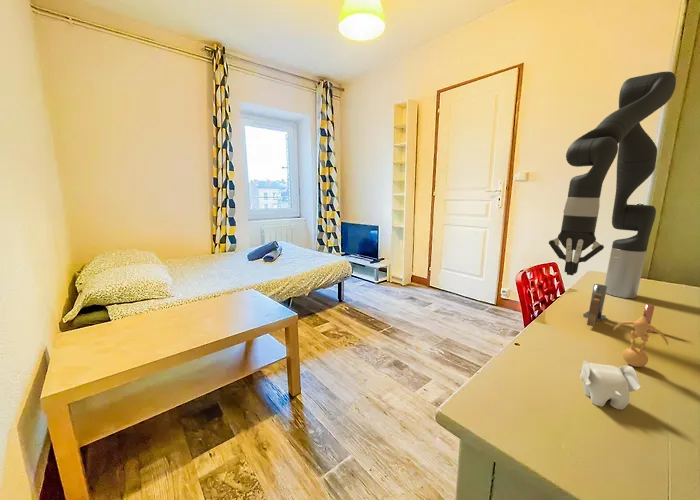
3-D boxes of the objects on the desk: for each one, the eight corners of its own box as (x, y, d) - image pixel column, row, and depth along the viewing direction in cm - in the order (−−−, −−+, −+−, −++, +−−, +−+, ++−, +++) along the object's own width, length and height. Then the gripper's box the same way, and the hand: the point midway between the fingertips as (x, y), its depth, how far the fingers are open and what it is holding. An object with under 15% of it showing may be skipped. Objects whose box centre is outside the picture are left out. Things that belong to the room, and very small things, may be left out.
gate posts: (589, 311, 93) (595, 281, 91) (655, 329, 81) (663, 295, 79) (583, 316, 89) (588, 284, 87) (650, 335, 78) (658, 299, 76)
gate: (590, 315, 87) (594, 293, 86) (597, 316, 86) (601, 294, 85) (586, 324, 81) (591, 301, 80) (594, 326, 80) (598, 302, 79)
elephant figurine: (608, 384, 57) (615, 351, 56) (643, 420, 48) (653, 382, 47) (564, 378, 59) (569, 345, 58) (589, 412, 50) (597, 374, 48)
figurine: (661, 371, 62) (674, 318, 59) (658, 382, 58) (672, 326, 56) (610, 354, 68) (620, 305, 66) (604, 363, 64) (615, 312, 62)
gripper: (612, 215, 79) (601, 277, 82) (554, 212, 88) (546, 268, 91) (611, 216, 74) (598, 282, 77) (549, 213, 83) (540, 272, 86)
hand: (570, 274), depth 84 cm, fingers closed
